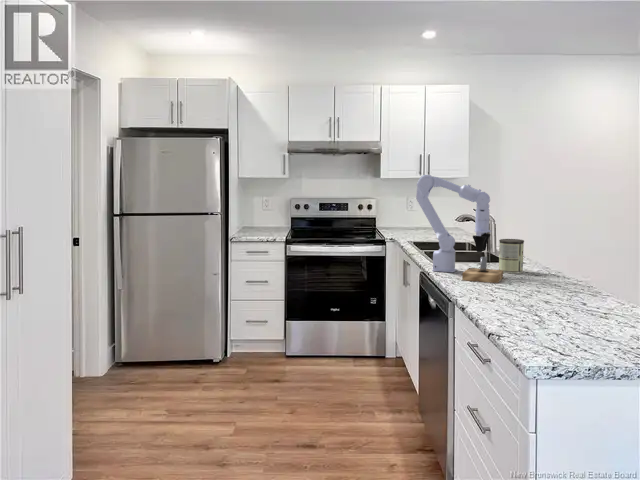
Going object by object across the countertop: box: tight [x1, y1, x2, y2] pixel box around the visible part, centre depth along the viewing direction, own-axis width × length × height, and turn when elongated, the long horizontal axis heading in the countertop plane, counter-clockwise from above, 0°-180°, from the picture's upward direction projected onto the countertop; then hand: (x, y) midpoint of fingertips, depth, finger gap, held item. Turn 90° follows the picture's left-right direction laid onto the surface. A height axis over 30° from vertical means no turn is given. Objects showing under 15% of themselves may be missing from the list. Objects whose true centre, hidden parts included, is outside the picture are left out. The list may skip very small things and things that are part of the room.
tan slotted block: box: [461, 267, 504, 284], centre depth 229 cm, size 14×14×3 cm
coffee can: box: [498, 238, 525, 275], centre depth 245 cm, size 10×10×14 cm
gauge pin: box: [479, 256, 488, 273], centre depth 229 cm, size 2×2×9 cm
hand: (481, 251), depth 243 cm, fingers open, 7 cm apart
